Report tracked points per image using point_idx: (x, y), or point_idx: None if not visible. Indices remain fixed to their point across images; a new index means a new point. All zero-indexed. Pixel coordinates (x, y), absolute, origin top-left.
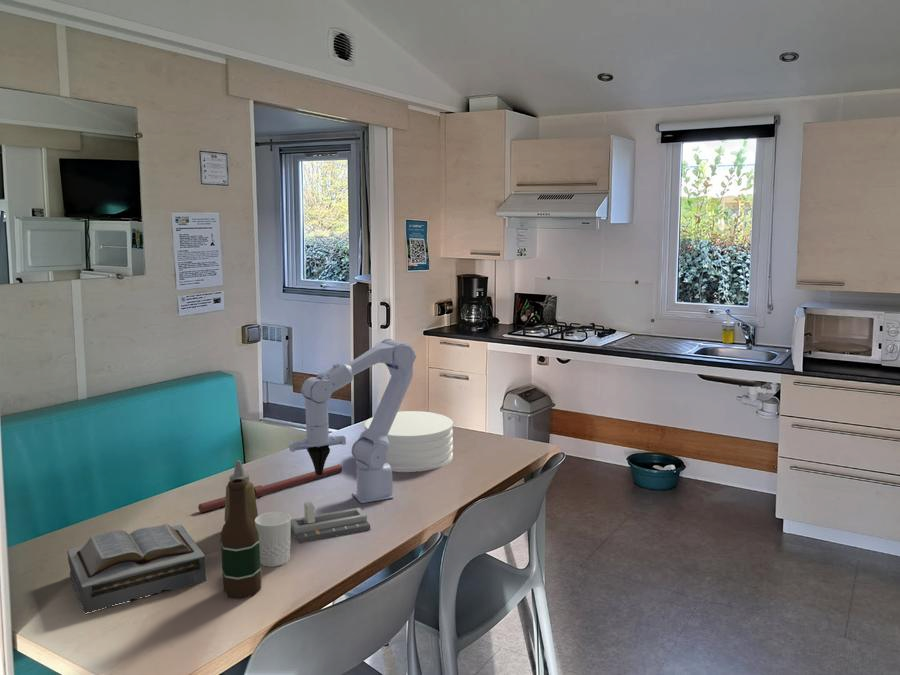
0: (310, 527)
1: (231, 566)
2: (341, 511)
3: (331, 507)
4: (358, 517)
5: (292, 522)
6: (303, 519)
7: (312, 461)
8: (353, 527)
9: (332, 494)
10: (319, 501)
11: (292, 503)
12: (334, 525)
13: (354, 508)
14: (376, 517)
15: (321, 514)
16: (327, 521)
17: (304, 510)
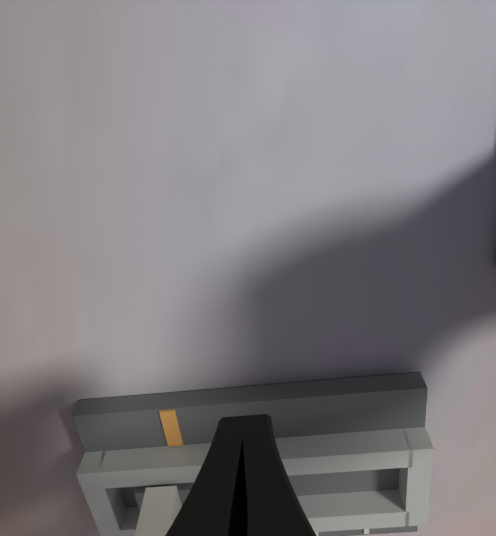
0: None
1: None
2: (332, 463)
3: (319, 263)
4: (386, 525)
5: (89, 501)
6: (139, 498)
7: (179, 518)
8: (345, 532)
9: (385, 42)
10: (269, 149)
11: (91, 126)
12: None
13: (405, 451)
14: (486, 431)
15: None
16: None
17: (137, 525)
